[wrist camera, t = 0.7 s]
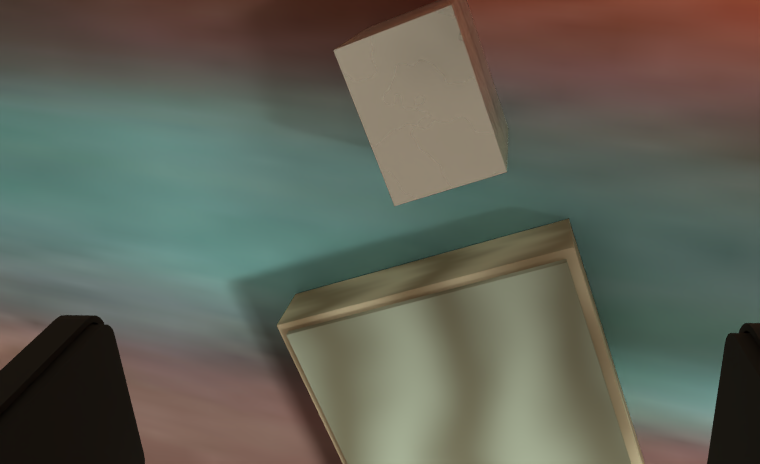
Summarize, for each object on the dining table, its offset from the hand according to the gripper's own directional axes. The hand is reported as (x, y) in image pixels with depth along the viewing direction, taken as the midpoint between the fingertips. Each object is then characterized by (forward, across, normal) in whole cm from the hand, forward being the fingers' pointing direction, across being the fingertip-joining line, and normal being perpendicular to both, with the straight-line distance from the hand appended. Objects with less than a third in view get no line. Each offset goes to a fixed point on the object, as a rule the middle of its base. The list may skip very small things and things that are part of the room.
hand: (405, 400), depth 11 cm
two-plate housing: (+26, +1, 0) cm, 26 cm away
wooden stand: (+26, -1, +19) cm, 32 cm away
